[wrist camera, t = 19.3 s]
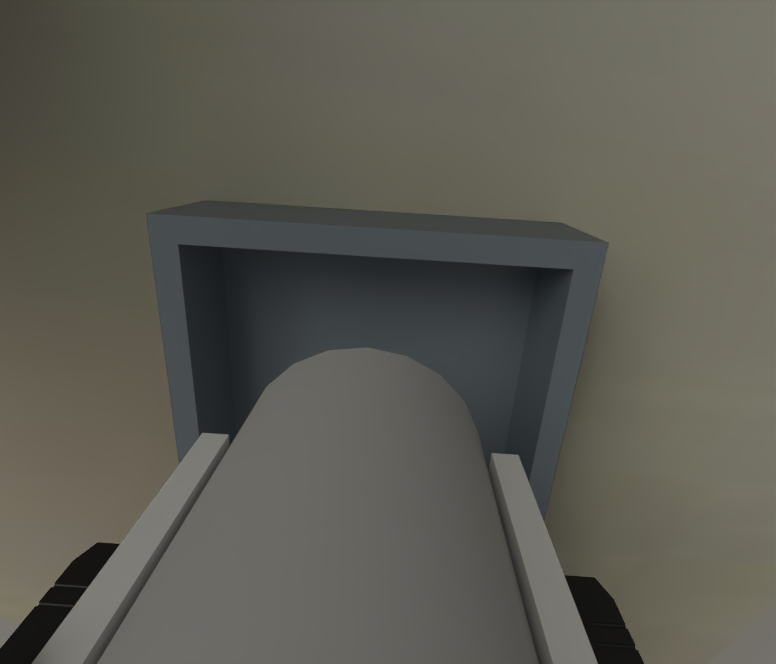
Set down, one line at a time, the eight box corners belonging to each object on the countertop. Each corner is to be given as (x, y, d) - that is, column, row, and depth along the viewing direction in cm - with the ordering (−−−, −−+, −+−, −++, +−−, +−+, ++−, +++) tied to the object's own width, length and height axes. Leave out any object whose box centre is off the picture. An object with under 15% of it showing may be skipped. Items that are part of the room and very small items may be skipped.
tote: (205, 200, 20) (146, 213, 16) (561, 222, 20) (608, 242, 16) (238, 588, 29) (206, 670, 24) (487, 606, 29) (504, 692, 24)
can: (344, 288, 14) (57, 895, 2) (523, 429, 15) (860, 1206, 4) (213, 447, 16) (-254, 1149, 5) (380, 557, 17) (334, 1288, 6)
